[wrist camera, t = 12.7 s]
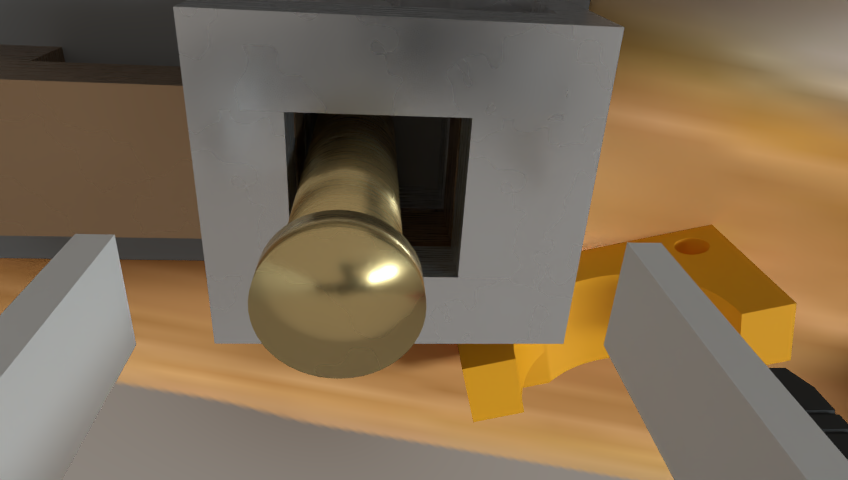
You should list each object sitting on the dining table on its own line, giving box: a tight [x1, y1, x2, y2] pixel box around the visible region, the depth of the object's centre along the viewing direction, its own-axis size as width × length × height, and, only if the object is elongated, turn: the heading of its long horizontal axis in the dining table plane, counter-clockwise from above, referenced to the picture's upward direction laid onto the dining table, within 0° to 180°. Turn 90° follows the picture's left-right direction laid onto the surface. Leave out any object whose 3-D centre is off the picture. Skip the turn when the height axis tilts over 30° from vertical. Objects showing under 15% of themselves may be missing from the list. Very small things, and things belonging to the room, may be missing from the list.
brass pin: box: [248, 113, 426, 378], centre depth 19 cm, size 4×4×12 cm
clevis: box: [0, 0, 624, 344], centre depth 21 cm, size 10×20×7 cm, turn 87°
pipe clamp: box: [458, 225, 796, 422], centre depth 26 cm, size 12×4×6 cm, turn 101°
